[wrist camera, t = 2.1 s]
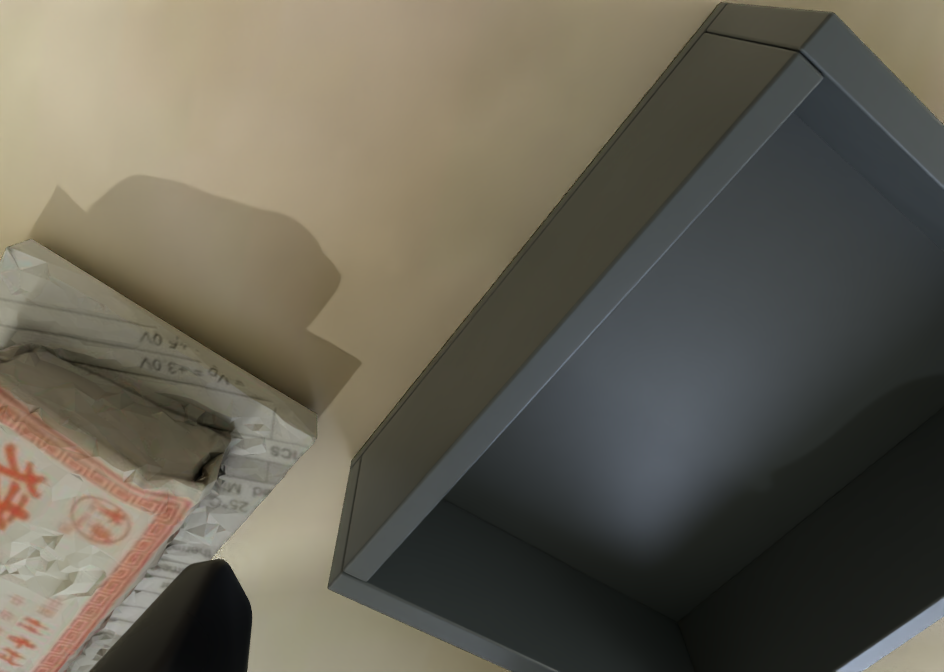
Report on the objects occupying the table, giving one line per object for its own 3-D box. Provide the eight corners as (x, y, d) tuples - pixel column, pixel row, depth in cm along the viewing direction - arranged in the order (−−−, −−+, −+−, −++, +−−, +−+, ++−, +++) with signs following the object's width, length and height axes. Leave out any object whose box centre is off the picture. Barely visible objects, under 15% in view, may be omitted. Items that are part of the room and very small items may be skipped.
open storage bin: (673, 630, 28) (721, 767, 23) (350, 461, 23) (326, 589, 18) (1056, 321, 21) (1234, 421, 17) (720, 1, 17) (833, 10, 12)
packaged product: (24, 814, 24) (-294, 711, 21) (88, 687, 28) (-166, 586, 25) (301, 512, 18) (-91, 299, 14) (329, 408, 22) (31, 226, 19)
